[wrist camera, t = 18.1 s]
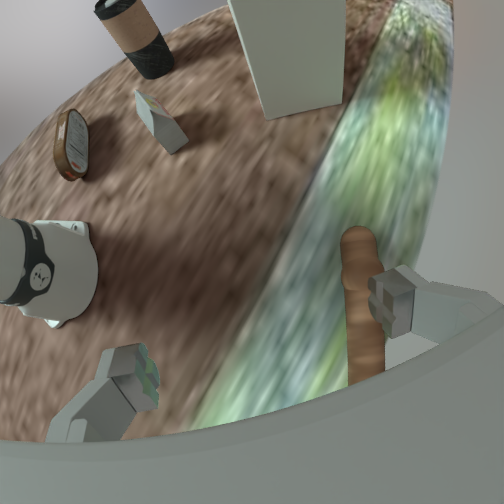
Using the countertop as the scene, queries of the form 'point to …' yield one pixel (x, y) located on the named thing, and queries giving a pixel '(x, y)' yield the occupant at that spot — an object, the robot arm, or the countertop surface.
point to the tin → (71, 145)
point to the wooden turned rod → (361, 304)
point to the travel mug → (136, 35)
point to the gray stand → (293, 52)
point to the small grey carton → (160, 122)
